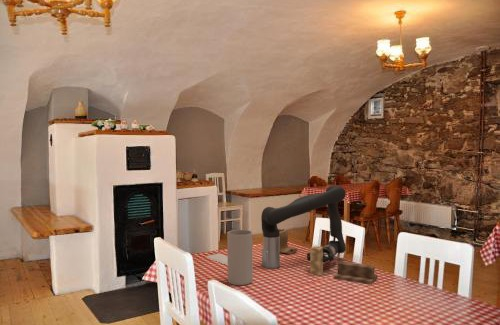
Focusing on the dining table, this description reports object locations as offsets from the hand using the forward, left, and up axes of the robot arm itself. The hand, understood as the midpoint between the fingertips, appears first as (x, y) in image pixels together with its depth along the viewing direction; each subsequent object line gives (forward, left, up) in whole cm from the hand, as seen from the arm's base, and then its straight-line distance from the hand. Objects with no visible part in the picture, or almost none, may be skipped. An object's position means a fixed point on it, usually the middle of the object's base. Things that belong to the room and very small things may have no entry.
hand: (315, 259), depth 236 cm
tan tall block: (+1, +1, -8) cm, 8 cm away
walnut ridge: (+15, -14, -8) cm, 22 cm away
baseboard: (-35, +43, -9) cm, 56 cm away
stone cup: (+5, +48, -8) cm, 49 cm away
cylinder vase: (-41, +5, -8) cm, 42 cm away
